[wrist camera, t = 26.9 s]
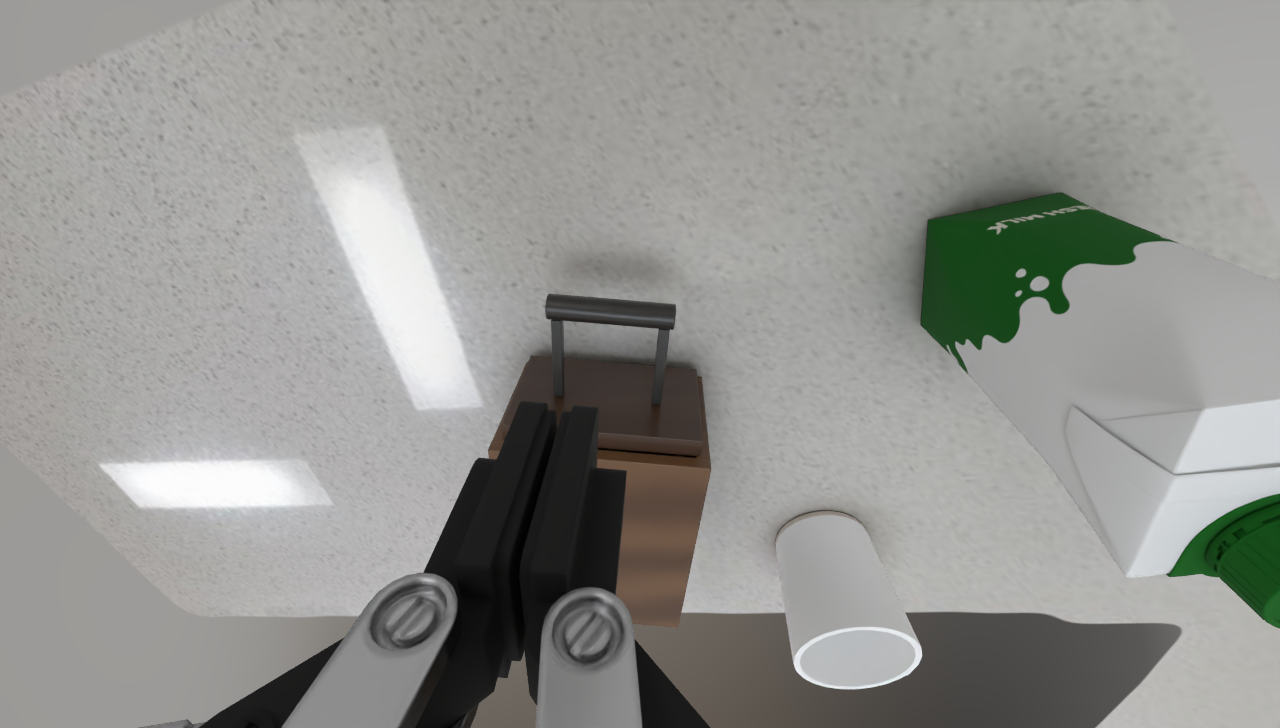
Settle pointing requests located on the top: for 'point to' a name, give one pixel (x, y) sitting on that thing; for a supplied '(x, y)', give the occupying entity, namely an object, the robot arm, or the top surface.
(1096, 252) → the milk carton
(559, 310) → the drawer
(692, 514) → the cabinet
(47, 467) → the top surface
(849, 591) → the mug
